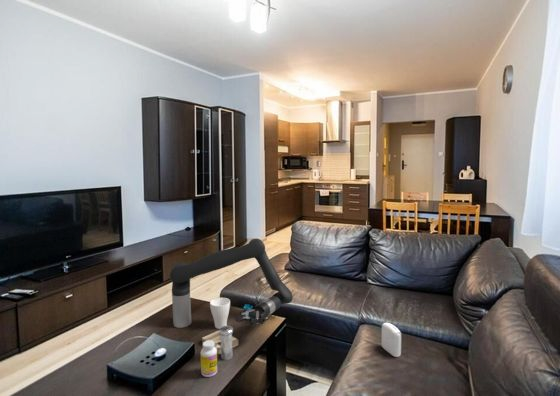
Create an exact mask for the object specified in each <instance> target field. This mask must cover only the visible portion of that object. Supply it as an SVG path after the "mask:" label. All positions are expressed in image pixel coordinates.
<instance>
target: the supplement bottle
mask: <svg viewBox="0 0 560 396" xmlns="http://www.w3.org/2000/svg"><path fill="white" fill-rule="evenodd" d="M200 373H201V376H203V377H205V378H211V377H213V376H215V375H216V374H217V373H218V353H217V349H216V348H215V347H214V341H212V340H208V341H205V342H204V343H202V349H201V350H200Z"/></svg>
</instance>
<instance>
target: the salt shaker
mask: <svg viewBox="0 0 560 396" xmlns="http://www.w3.org/2000/svg"><path fill="white" fill-rule="evenodd" d="M218 331H219V334H220V335H221V342H220V346H221V354H220V356H221V357H220V358H221V359H222V360H224V361H228V360H231V359H233V357H234V356H233V348H232V336H233V333H234V328H233V326H231V325H227V326H223V327H221V328H220V329H218Z"/></svg>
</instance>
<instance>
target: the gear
mask: <svg viewBox="0 0 560 396" xmlns="http://www.w3.org/2000/svg"><path fill="white" fill-rule="evenodd" d="M246 308H248V310H252V309H254V306H253V305H251V304H249V303H248V304H247V303H246V304H244V306H243V310H244V309H246ZM248 316H249V313H248ZM248 320H251V321H252V320H254V319H252V318H249V319H248Z"/></svg>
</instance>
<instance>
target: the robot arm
mask: <svg viewBox="0 0 560 396" xmlns="http://www.w3.org/2000/svg"><path fill="white" fill-rule="evenodd" d="M250 259H255V260H256V262H257V263H258V265H259V266H260V269H261V272H262V274H263V276H264V278H265V280H266V282H267V283H268V285H269V287H270V289H271V290H272V291H276V292H275V293H274V294H272V296H270V297H269V298H267V299H265V300H262V301H261V302H259V303H258V304H255V305H254V306H253V308H252V310H248V308H246V309H244V308H243V309H242V310H240V311H239V314H238V315H237V316H236V318H235V319H236V320H235V321H236V322H240V321H242V320H243V319H247V320H250V319H254V320H251V321H250V322H249V327H253V326H255V325H257V324H260V325H263V324H264V323H265V322H267V321H268V320H269V316H270V315H271V314H273V313H274V312H276V311H277V310H278V309H279V308H280V307H281V305H286V304H290V303H292V302H293V292H292V291H291V289H290V288H289V287H288V286H287V285H286V284H285V283H284V282H283V281H282V279H281V277H280V275H279V274H278V271H277V270H276V269H275V267H274V266H273V263H272V262H271V260H270V258H269V256H268V254H267V251H266V246H265V243H264V242H263V241H262V240H261V239H259V238H252V239H251V240H250V241H249V242H248V243H246V244H244V245H241V246H238V247H234V248H228V249H221V250H218V251H215V252H212V253H210V254H208V255H205V256H204V257H201V258H200V259H198V260H197V261H194V262H192V263H191V262H190V263H188V264H187V263H186V262H184V261H179V262H176V263H175V264H174V265H173V266H172V268H171V270H170V273H169V278H170V281H171V282H172V284H171V299H172V300H171V301H172V322H173V326H174V328H179V329H181V328H186V327H189V326H190V325H192V310H191V305H192V304H191V303H192V302H191V279H193V278H195V277H199V276H201V275H204V274H205V275H206V274H208V273H211V272H215V271H219V270H220V269H221V270H222V269H223V268H227V267H229V266H230V267H231V266H233V265H235V264H237V263H240V262H242V261H245V260H250ZM248 313H249V316H248ZM249 318H250V319H249Z"/></svg>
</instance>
